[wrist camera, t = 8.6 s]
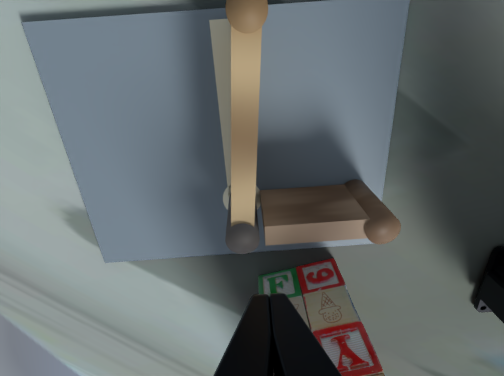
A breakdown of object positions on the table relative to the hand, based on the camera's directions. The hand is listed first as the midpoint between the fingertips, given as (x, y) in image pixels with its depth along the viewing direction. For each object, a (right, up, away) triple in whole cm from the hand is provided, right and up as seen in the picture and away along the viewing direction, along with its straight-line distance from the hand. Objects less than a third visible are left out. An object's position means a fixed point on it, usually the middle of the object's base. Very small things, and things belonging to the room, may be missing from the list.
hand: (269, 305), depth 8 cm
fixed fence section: (+3, +3, +12) cm, 13 cm away
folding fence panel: (-1, +7, +10) cm, 12 cm away
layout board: (-2, +5, +11) cm, 13 cm away
